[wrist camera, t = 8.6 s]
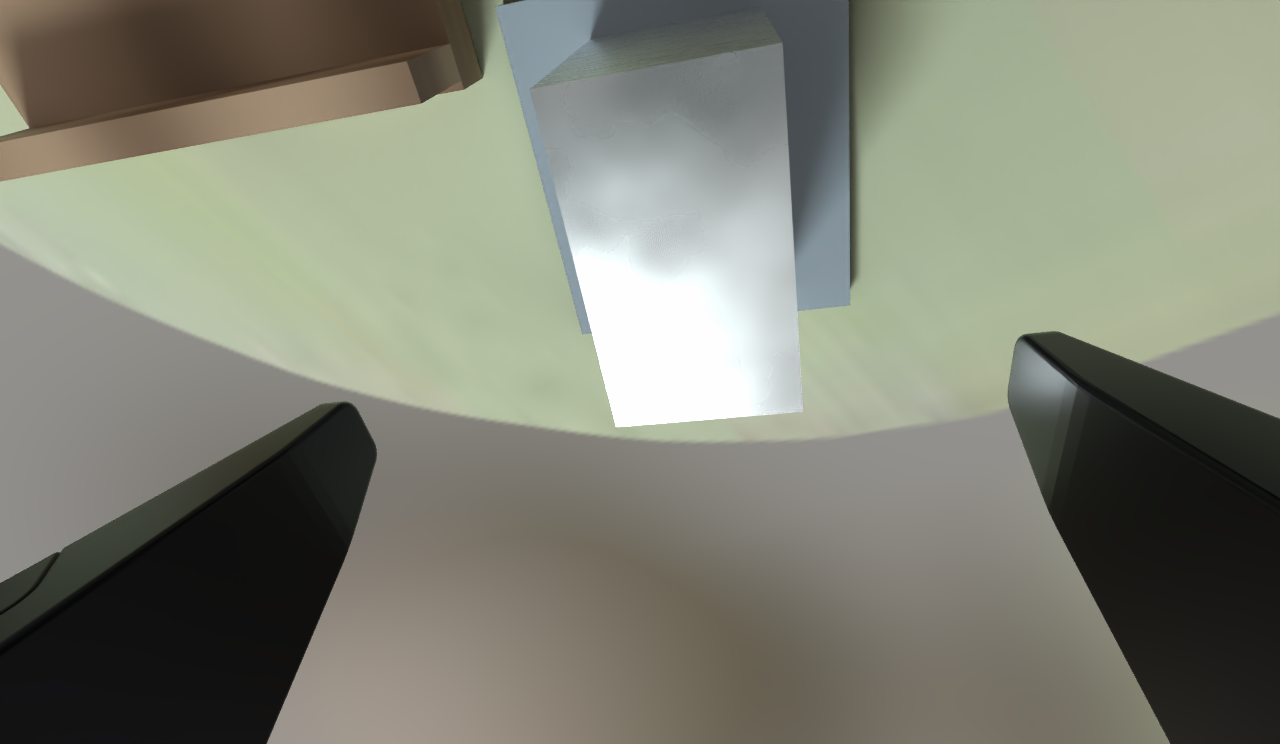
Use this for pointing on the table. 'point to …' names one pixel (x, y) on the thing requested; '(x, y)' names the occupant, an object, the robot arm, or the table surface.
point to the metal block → (680, 215)
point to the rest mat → (815, 105)
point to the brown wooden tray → (212, 70)
